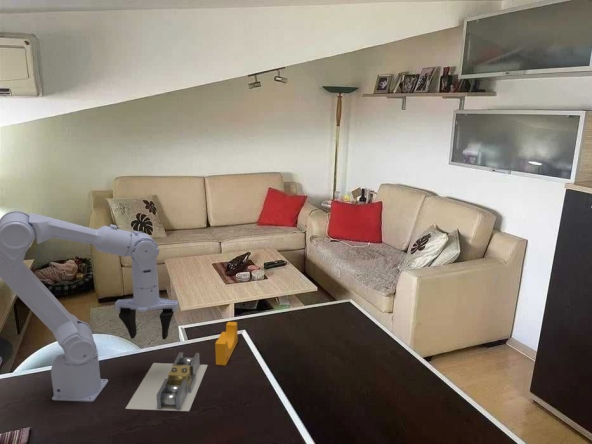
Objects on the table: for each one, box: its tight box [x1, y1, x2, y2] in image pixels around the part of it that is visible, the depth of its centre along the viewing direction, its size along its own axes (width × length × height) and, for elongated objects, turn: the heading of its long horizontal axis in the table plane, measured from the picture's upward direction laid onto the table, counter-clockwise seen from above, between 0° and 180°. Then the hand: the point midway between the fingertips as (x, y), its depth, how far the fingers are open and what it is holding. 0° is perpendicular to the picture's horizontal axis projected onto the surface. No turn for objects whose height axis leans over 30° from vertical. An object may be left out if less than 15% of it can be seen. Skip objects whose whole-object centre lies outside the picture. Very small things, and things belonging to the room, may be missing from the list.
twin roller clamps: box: [157, 351, 201, 410], centre depth 106 cm, size 6×18×4 cm, turn 178°
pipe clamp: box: [214, 321, 238, 366], centre depth 121 cm, size 12×4×6 cm, turn 173°
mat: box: [125, 362, 209, 412], centre depth 107 cm, size 14×18×1 cm
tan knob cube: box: [168, 365, 191, 388], centre depth 106 cm, size 4×4×4 cm
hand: (149, 336), depth 110 cm, fingers open, 7 cm apart
